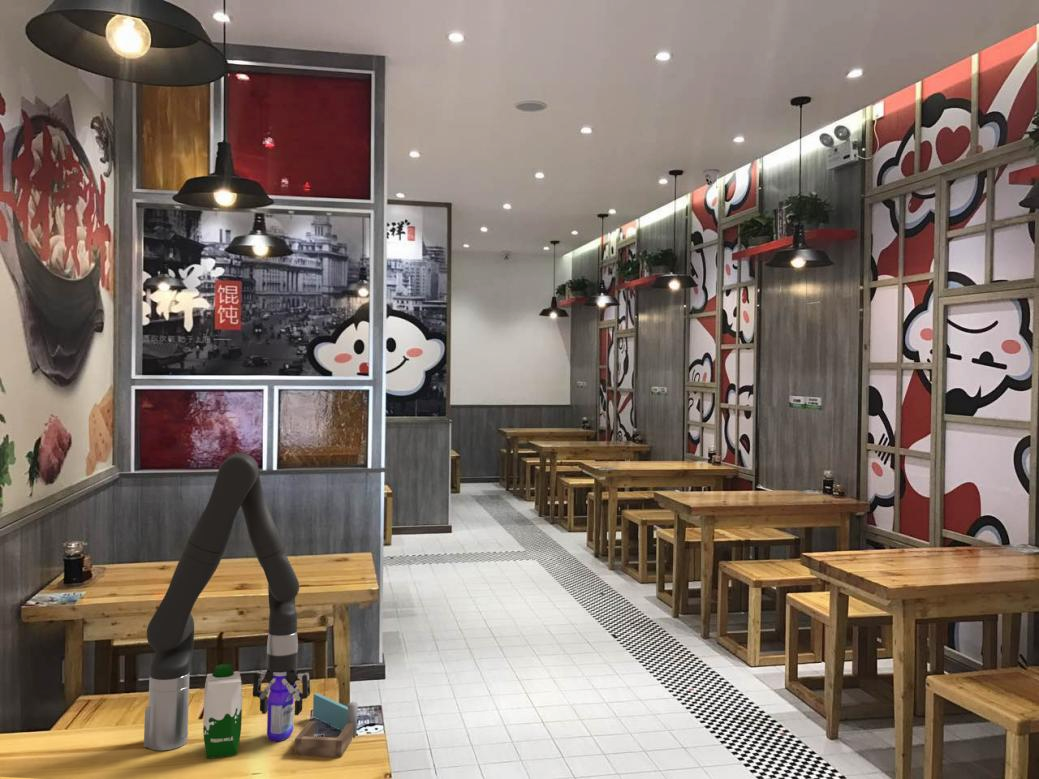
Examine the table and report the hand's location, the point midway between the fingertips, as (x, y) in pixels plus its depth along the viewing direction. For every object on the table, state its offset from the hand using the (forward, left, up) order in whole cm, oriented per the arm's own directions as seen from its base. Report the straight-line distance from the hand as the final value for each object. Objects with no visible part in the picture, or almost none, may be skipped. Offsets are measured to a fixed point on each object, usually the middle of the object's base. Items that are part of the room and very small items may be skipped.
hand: (281, 713), depth 210 cm
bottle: (0, 0, -6) cm, 6 cm away
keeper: (+12, +8, -6) cm, 15 cm away
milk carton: (-11, -10, -6) cm, 16 cm away
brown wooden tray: (+13, -4, -6) cm, 15 cm away
